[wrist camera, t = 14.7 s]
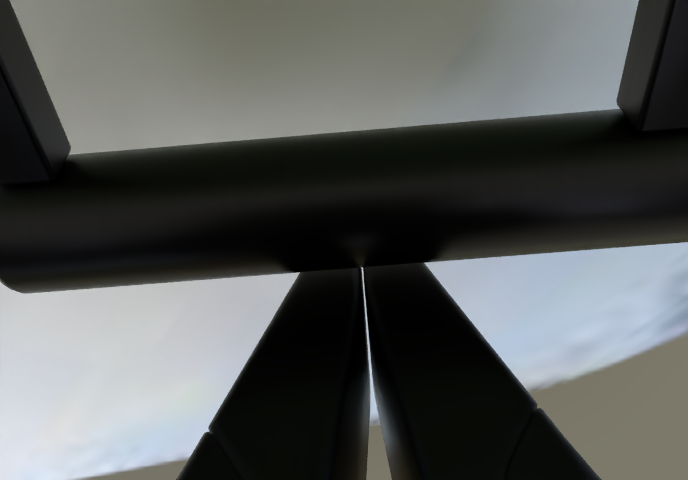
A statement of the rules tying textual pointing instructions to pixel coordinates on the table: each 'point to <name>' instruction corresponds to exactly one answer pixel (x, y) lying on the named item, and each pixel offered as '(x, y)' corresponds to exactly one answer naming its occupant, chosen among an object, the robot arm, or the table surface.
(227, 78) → the table surface
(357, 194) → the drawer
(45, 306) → the table surface
